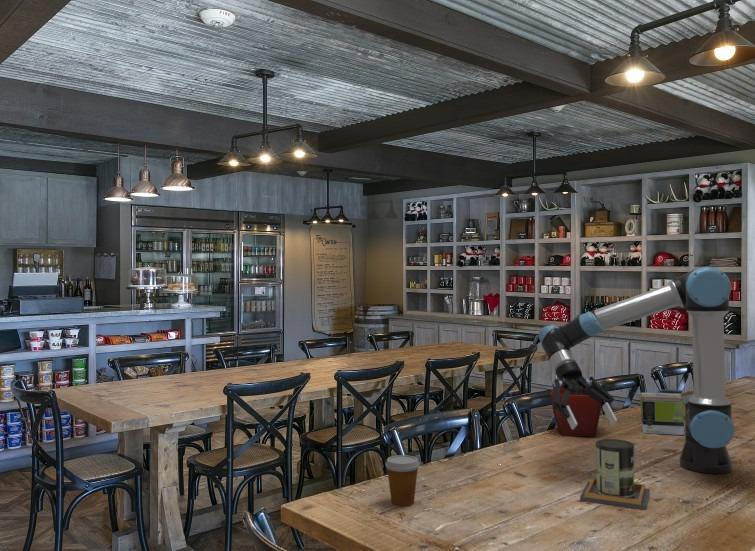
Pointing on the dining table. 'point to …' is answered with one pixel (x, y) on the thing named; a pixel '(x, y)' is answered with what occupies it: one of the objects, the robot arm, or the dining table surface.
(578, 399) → the plant pot
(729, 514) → the dining table surface
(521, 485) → the dining table surface
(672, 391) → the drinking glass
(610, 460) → the coffee can
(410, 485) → the disposable coffee cup
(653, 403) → the tea box
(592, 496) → the mount plate
